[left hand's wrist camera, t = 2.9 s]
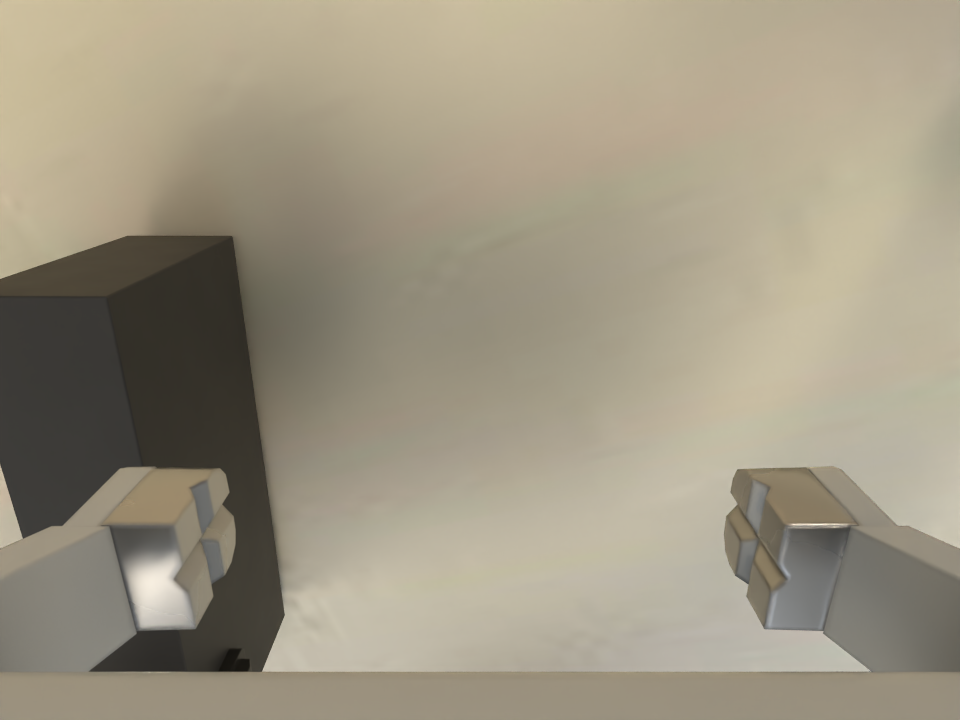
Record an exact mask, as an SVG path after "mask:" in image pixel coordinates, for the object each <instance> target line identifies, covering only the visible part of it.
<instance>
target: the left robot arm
mask: <svg viewBox="0 0 960 720" xmlns="http://www.w3.org/2000/svg"><path fill="white" fill-rule="evenodd" d="M228 494H229V488H228V483H227V478H226V474H225V473H224V472H223V471H222V470H221V469H220V468H181V467H158V468H157V467H126V468H121V469H119V470H118V471H117V472H116V473H115V474H114V475H113V476H112V477H111V478H110V479H109V480H108V481H107V482H106V483H105V484H104V485H103V486H102V487H101V488H100V489H99V490H98V491H97V492H96V493H95V494H94V495H93V496H92V497H91V498H90V499H89V500H88V501H87V502H86V503H85V504H84V505H83V506H82V507H81V508H80V509H79V510H78V511H77V512H76V513H75V514H74V515H73V516H72V517H71V518H70V519H69V520H68V521H67V522H66V523H65V524H64V525H63V526H51V527H49V528H46V529H44V530H42V531H40V532H37V533H35V534H33V535H31V536H28V537H26V538H24V539H21V540H19V541H17V542H15V543H12V544H10V545H8V546H6V547H3V548H1V549H0V720H960V549H959V548H956V547H954V546H952V545H950V544H947V543H945V542H943V541H941V540H938V539H936V538H934V537H932V536H929V535H927V534H925V533H923V532H920V531H918V530H916V529H914V528H911V527H909V526H897V525H896V524H895V523H894V522H893V521H892V520H891V519H890V518H889V517H888V516H887V515H886V514H885V513H884V512H883V511H882V510H881V509H880V508H879V507H878V506H877V505H876V504H875V503H874V502H873V501H872V500H871V499H870V498H869V497H868V496H867V495H866V494H865V493H864V492H863V491H862V490H861V489H860V488H859V487H858V486H857V485H856V484H855V483H854V482H853V481H852V480H851V479H850V478H849V477H848V476H847V475H846V474H845V473H844V472H843V471H842V470H841V469H839V468H836V467H833V466H829V467H803V468H763V469H737V471H736V473H735V476H734V478H733V481H732V487H731V494H732V496H733V497H734V499H735V500H736V502H737V503H738V505H737V506H736V507H735V508H734V509H733V510H732V511H731V512H730V513H729V514H728V515H727V516H726V523H725V531H724V539H725V551H726V555H727V558H728V561H729V564H730V566H731V568H732V570H733V572H734V574H735V576H737V577H738V578H740V579H741V580H743V581H744V582H746V583H747V584H749V585H748V591H747V598H748V600H749V602H750V604H751V605H752V607H753V609H754V611H755V613H756V614H757V616H758V618H759V620H760V622H761V624H762V625H763V627H764V629H776V630H812V631H824V632H823V634H825V635H826V636H827V637H828V638H830V639H831V640H832V641H833V642H835V643H836V644H837V645H839V646H840V647H841V648H842V649H844V650H845V651H846V652H848V653H849V654H850V655H851V656H853V657H854V658H855V659H856V660H858V661H859V662H860V663H862V664H863V665H864V666H865V667H867V668H868V669H869V670H870V671H872V672H88V671H90V670H91V669H92V668H94V667H95V666H96V665H97V664H99V663H100V662H101V661H103V660H104V659H105V658H106V657H108V656H109V655H110V654H111V653H113V652H114V651H115V650H117V649H118V648H119V647H120V646H122V645H123V644H124V643H125V642H127V641H128V640H129V639H131V638H132V637H133V636H134V635H136V633H137V632H136V631H147V630H183V629H196V627H197V625H198V624H199V622H200V620H201V618H202V616H203V615H204V613H205V611H206V609H207V607H208V605H209V604H210V602H211V600H212V598H213V591H212V586H211V584H213V583H214V582H216V581H217V580H219V579H220V578H222V577H223V576H225V574H226V572H227V570H228V568H229V566H230V564H231V562H232V558H233V553H234V549H235V544H236V529H235V522H234V516H233V515H232V514H231V513H230V512H229V511H228V510H227V509H226V508H225V507H224V506H223V505H222V503H223V502H224V500H225V499H226V497H227V495H228Z"/></svg>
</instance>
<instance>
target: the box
mask: <svg viewBox="0 0 960 720" xmlns="http://www.w3.org/2000/svg"><path fill="white" fill-rule="evenodd" d="M0 465H1V468H2V471H3V474H4V478H5V481H6V484H7V488H8V491H9V494H10V497H11V501H12V504H13V507H14V511H15V514H16V517H17V520H18V524H19V527H20V530H21V533H22V537H23V539H24V538H26V537H28V536H31V535H33V534H35V533H37V532H40V531H42V530H44V529H46V528H49V527H51V526H63V525H64V524H65V523H66V522H67V521H68V520H69V519H70V518H71V517H72V516H73V515H74V514H75V513H76V512H77V511H78V510H79V509H80V508H81V507H82V506H83V505H84V504H85V503H86V502H87V501H88V500H89V499H90V498H91V497H92V496H93V495H94V494H95V493H96V492H97V491H98V490H99V489H100V488H101V487H102V486H103V485H104V484H105V483H106V482H107V481H108V480H109V479H110V478H111V477H112V476H113V475H114V474H115V473H116V472H117V471H118V470H119V469H121V468H126V467H157V468H158V467H181V468H220V469H221V470H222V471H223V472H224V473H225V474H226V478H227V483H228V488H229V494H228V495H227V497H226V499H225V500H224V502H223V503H222V505H223V506H224V507H225V508H226V509H227V510H228V511H229V512H230V513H231V514H232V515H233V516H234V522H235V529H236V544H235V549H234V553H233V558H232V562H231V564H230V566H229V568H228V570H227V572H226V574H225V576H223V577H222V578H220V579H219V580H217V581H216V582H214V583H213V584H211V586H212V591H213V598H212V600H211V602H210V604H209V605H208V607H207V609H206V611H205V613H204V615H203V616H202V618H201V620H200V622H199V624H198V625H197V627H196V629H183V630H147V631H136V632H137V633H136V635H134V636H133V637H132V638H131V639H129V640H128V641H127V642H125V643H124V644H123V645H122V646H120V647H119V648H118V649H117V650H115V651H114V652H113V653H111V654H110V655H109V656H108V657H106V658H105V659H104V660H103V661H101V662H100V663H99V664H97V665H96V666H95V667H94V668H92V669H91V670H90V671H88V672H218V671H219V669H220V667H221V665H222V663H223V661H224V658H225V656H226V654H227V652H228V650H229V649H230V648H243V649H244V651H245V656H246V659H250V663H251V669H252V672H262V670H263V667H264V665H265V663H266V660H267V658H268V655H269V653H270V650H271V648H272V645H273V643H274V640H275V638H276V635H277V633H278V630H279V628H280V625H281V623H282V620H283V618H284V607H283V600H282V593H281V585H280V578H279V571H278V564H277V556H276V549H275V542H274V535H273V527H272V520H271V513H270V506H269V498H268V491H267V484H266V476H265V469H264V462H263V455H262V447H261V440H260V433H259V426H258V418H257V411H256V404H255V396H254V389H253V382H252V375H251V367H250V360H249V353H248V346H247V338H246V331H245V324H244V316H243V309H242V302H241V295H240V287H239V280H238V273H237V266H236V258H235V251H234V244H233V237H232V236H126V237H123V238H120V239H117V240H114V241H111V242H108V243H105V244H102V245H99V246H96V247H93V248H91V249H88V250H85V251H82V252H79V253H76V254H73V255H70V256H67V257H64V258H61V259H58V260H55V261H52V262H49V263H46V264H43V265H40V266H37V267H34V268H32V269H29V270H26V271H23V272H20V273H17V274H14V275H11V276H8V277H5V278H2V279H0Z"/></svg>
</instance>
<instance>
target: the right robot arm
mask: <svg viewBox="0 0 960 720" xmlns="http://www.w3.org/2000/svg"><path fill="white" fill-rule="evenodd" d="M218 672H252V669H251V663H250V659H246V656H245V651H244V649H243V648H230V649H229V650H228V652H227V654H226V656H225V658H224V661H223V663H222V665H221V667H220V669H219V671H218Z"/></svg>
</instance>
